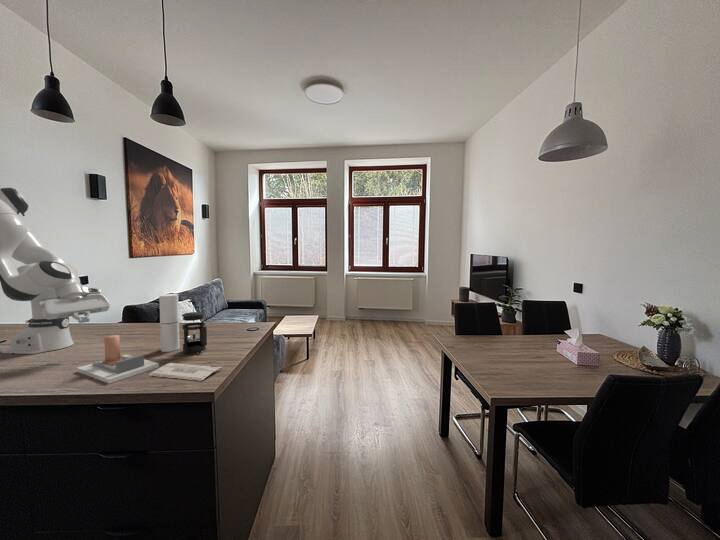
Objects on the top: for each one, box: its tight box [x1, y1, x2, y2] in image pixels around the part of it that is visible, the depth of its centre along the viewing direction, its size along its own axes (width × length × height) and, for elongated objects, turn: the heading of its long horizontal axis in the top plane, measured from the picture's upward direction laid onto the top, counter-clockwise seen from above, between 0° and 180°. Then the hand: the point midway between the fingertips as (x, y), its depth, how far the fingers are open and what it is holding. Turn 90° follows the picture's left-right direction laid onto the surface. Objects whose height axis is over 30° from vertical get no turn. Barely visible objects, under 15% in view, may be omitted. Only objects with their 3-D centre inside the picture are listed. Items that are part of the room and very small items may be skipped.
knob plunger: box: [100, 334, 124, 366], centre depth 111 cm, size 5×5×10 cm
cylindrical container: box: [158, 293, 180, 353], centre depth 132 cm, size 7×7×25 cm
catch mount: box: [76, 354, 160, 385], centre depth 109 cm, size 22×16×6 cm
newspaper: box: [148, 362, 223, 381], centre depth 108 cm, size 23×12×2 cm, turn 79°
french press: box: [181, 299, 208, 355], centre depth 130 cm, size 12×9×23 cm
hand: (84, 321), depth 118 cm, fingers closed
